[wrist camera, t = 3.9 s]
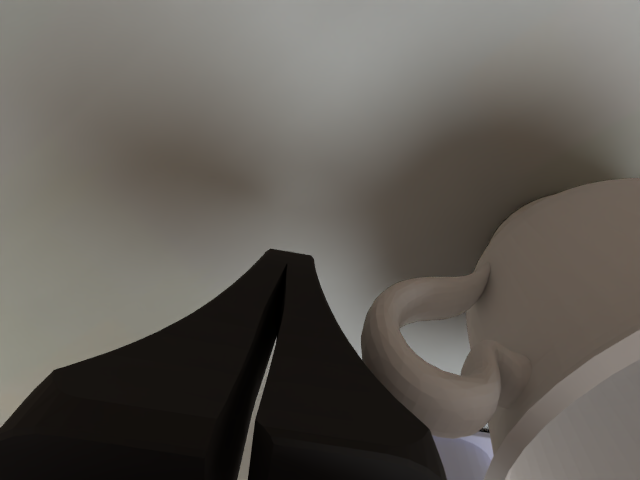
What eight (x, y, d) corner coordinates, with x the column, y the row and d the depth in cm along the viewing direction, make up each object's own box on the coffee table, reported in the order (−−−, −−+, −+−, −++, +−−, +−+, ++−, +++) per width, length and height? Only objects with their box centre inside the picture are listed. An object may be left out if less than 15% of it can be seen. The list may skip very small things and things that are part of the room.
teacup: (400, 51, 13) (520, 82, 4) (787, 152, 14) (1547, 350, 5) (322, 314, 19) (304, 559, 10) (599, 374, 20) (808, 647, 11)
